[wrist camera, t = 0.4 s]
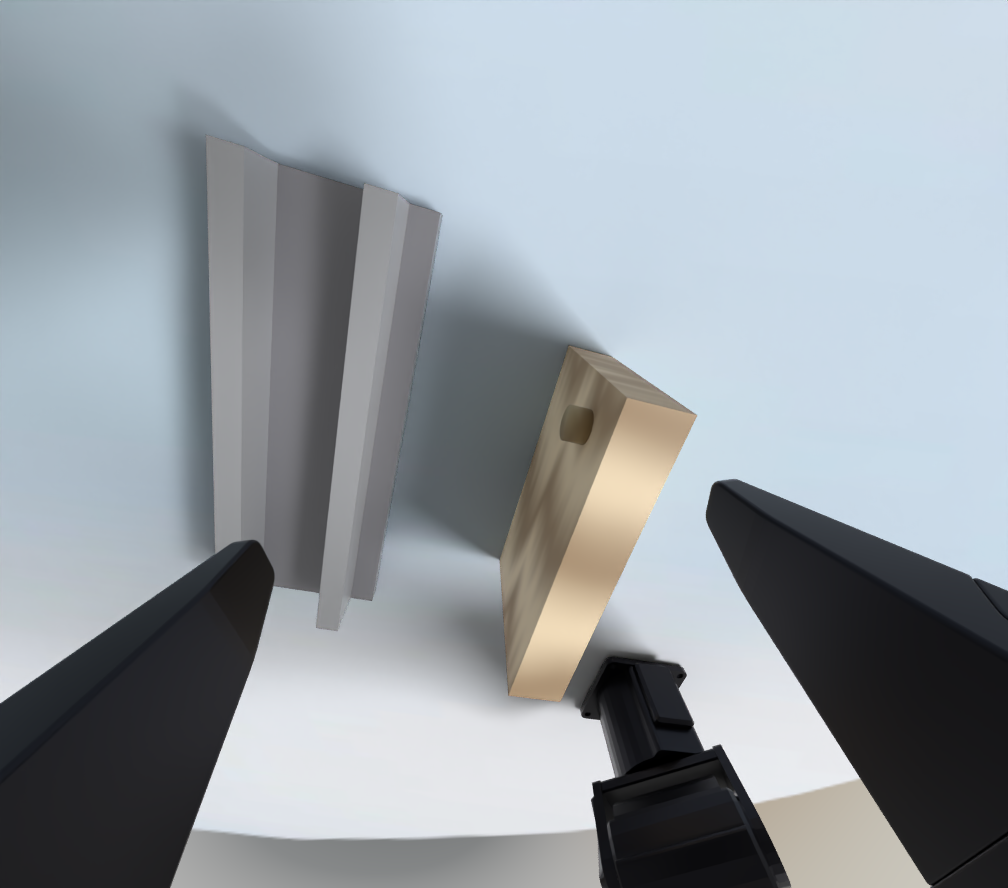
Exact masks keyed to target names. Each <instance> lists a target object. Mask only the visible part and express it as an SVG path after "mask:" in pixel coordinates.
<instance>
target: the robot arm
mask: <svg viewBox="0 0 1008 888" xmlns="http://www.w3.org/2000/svg"><path fill="white" fill-rule="evenodd" d="M706 521H707V524H708V526H709V528H710V530H711V532H712V534H713V536H714V538H715V540H716V542H717V544H718V546H719V548H720V550H721V552H722V554H723V556H724V558H725V560H726V562H727V564H728V566H729V568H730V570H731V572H732V574H733V576H734V578H735V580H736V582H737V584H738V586H739V588H740V589H741V591H742V593H743V595H744V596H745V598H746V599H747V601H748V603H749V604H750V606H751V608H752V609H753V611H754V612H755V614H756V615H757V617H758V618H759V620H760V622H761V623H762V625H763V626H764V628H765V629H766V631H767V633H768V634H769V636H770V637H771V639H772V640H773V642H774V644H775V645H776V647H777V648H778V650H779V651H780V653H781V655H782V656H783V658H784V659H785V661H786V662H787V664H788V666H789V667H790V669H791V670H792V672H793V673H794V675H795V677H796V678H797V680H798V681H799V683H800V684H801V686H802V688H803V689H804V691H805V692H806V694H807V695H808V697H809V699H810V700H811V702H812V703H813V705H814V706H815V708H816V710H817V711H818V713H819V714H820V716H821V717H822V719H823V720H824V722H825V724H826V725H827V727H828V728H829V730H830V731H831V733H832V735H833V736H834V738H835V739H836V741H837V742H838V744H839V746H840V747H841V749H842V750H843V752H844V753H845V755H846V757H847V758H848V760H849V761H850V763H851V764H852V766H853V768H854V769H855V771H856V772H857V774H858V775H859V777H860V779H861V780H862V782H863V783H864V785H865V786H866V788H867V789H868V791H869V793H870V794H871V796H872V797H873V799H874V801H875V802H876V803H877V805H878V806H879V808H880V810H881V812H882V813H883V815H884V816H885V818H886V819H887V821H888V822H889V824H890V826H891V827H892V829H893V830H894V832H895V833H896V835H897V836H898V838H899V840H900V841H901V843H902V844H903V846H904V847H905V849H906V851H907V852H908V854H909V855H910V857H911V858H912V860H913V862H914V863H915V865H916V866H917V868H918V870H919V871H920V873H921V874H922V876H923V877H924V879H925V880H926V882H927V883H928V884H929V885H931V887H930V888H1008V591H1007V590H1004V589H1002V588H1000V587H997V586H995V585H992V584H990V583H988V582H985V581H983V580H980V579H977V578H974V579H972V577H971V576H970V575H968V574H965V573H963V572H961V571H958V570H956V569H953V568H951V567H948V566H946V565H944V564H941V563H939V562H936V561H934V560H931V559H929V558H927V557H924V556H922V555H919V554H917V553H914V552H912V551H910V550H907V549H905V548H902V547H900V546H897V545H895V544H893V543H890V542H888V541H885V540H883V539H880V538H878V537H876V536H873V535H871V534H868V533H866V532H863V531H861V530H859V529H856V528H854V527H851V526H849V525H846V524H844V523H842V522H839V521H837V520H834V519H832V518H829V517H827V516H825V515H822V514H820V513H817V512H815V511H812V510H810V509H808V508H805V507H803V506H800V505H798V504H796V503H793V502H791V501H788V500H786V499H783V498H781V497H779V496H776V495H774V494H771V493H769V492H766V491H764V490H762V489H759V488H757V487H754V486H752V485H749V484H747V483H745V482H742V481H740V480H737V479H729V480H721V481H717V482H715V483H714V484H713V485H712V487H711V491H710V496H709V501H708V505H707V510H706ZM274 581H275V573H274V569H273V567H272V565H271V563H270V561H269V559H268V557H267V555H266V553H265V551H264V549H263V547H262V545H261V544H260V543H259V542H258V541H257V540H244V541H237V542H233V543H231V544H229V545H228V546H226V547H225V548H223V549H222V550H220V551H219V552H218V553H216V554H215V555H213V556H212V557H210V558H209V559H207V560H206V561H205V562H203V563H202V564H200V565H199V566H197V567H196V568H194V569H193V570H192V571H190V572H189V573H187V574H186V575H184V576H183V577H182V578H180V579H179V580H177V581H176V582H174V583H173V584H171V585H170V586H169V587H167V588H166V589H164V590H163V591H161V592H160V593H159V594H157V595H156V596H154V597H153V598H151V599H150V600H148V601H147V602H146V603H144V604H143V605H141V606H140V607H138V608H137V609H135V610H134V611H133V612H131V613H130V614H128V615H127V616H125V617H124V618H123V619H121V620H120V621H118V622H117V623H115V624H114V625H112V626H111V627H110V628H108V629H107V630H105V631H104V632H102V633H101V634H100V635H98V636H97V637H95V638H94V639H92V640H91V641H89V642H88V643H87V644H85V645H84V646H82V647H81V648H79V649H78V650H76V651H75V652H74V653H72V654H71V655H69V656H68V657H66V658H65V659H64V660H62V661H61V662H59V663H58V664H56V665H55V666H53V667H52V668H51V669H49V670H48V671H46V672H45V673H43V674H42V675H40V676H39V677H38V678H36V679H35V680H33V681H32V682H30V683H29V684H28V685H26V686H25V687H23V688H22V689H20V690H19V691H17V692H16V693H15V694H13V695H12V696H10V697H9V698H7V699H6V700H5V701H3V702H2V703H0V888H170V887H171V884H172V881H173V878H174V876H175V873H176V870H177V868H178V865H179V862H180V860H181V857H182V854H183V852H184V849H185V846H186V843H187V841H188V838H189V835H190V833H191V830H192V827H193V824H194V822H195V819H196V816H197V814H198V811H199V808H200V805H201V803H202V800H203V797H204V795H205V792H206V789H207V786H208V784H209V781H210V778H211V776H212V773H213V770H214V767H215V765H216V762H217V759H218V757H219V754H220V751H221V748H222V746H223V743H224V740H225V738H226V735H227V732H228V730H229V727H230V724H231V721H232V719H233V716H234V713H235V711H236V708H237V705H238V702H239V700H240V697H241V694H242V692H243V689H244V686H245V683H246V681H247V678H248V675H249V673H250V670H251V667H252V664H253V661H254V658H255V654H256V651H257V648H258V644H259V640H260V636H261V632H262V628H263V624H264V620H265V617H266V613H267V609H268V605H269V601H270V597H271V593H272V589H273V585H274ZM686 676H687V675H686V672H685V670H684V668H682V667H678V666H671V665H664V664H657V663H650V662H643V661H636V660H629V659H622V658H615V657H610V658H608V659H606V660H605V662H604V664H603V666H602V668H601V670H600V672H599V673H598V675H597V677H596V679H595V681H594V683H593V685H592V687H591V689H590V691H589V693H588V695H587V697H586V699H585V701H584V703H583V705H582V707H581V709H580V711H581V715H582V717H583V718H588V719H596V720H600V721H601V725H602V728H603V732H604V736H605V740H606V744H607V747H608V751H609V755H610V759H611V763H612V766H613V770H614V774H615V778H612V779H609V780H606V781H602V782H601V781H600V780H599V781H596V782H593V783H592V786H593V793H594V797H593V798H592V799H591V802H592V807H593V812H594V817H595V822H596V829H597V836H598V855H599V878H600V883H601V886H602V888H790V887H791V884H790V881H789V879H788V876H787V874H786V872H785V869H784V867H783V865H782V862H781V860H780V858H779V856H778V854H777V851H776V849H775V847H774V845H773V843H772V841H771V839H770V837H769V835H768V833H767V831H766V829H765V827H764V825H763V823H762V821H761V819H760V817H759V815H758V813H757V811H756V809H755V807H754V805H753V803H752V802H751V800H750V798H749V796H748V794H747V792H746V791H745V789H744V787H743V785H742V783H741V781H740V779H739V778H738V776H737V774H736V772H735V770H734V768H733V766H732V765H731V763H730V761H729V759H728V757H727V755H726V753H725V752H724V750H723V748H722V746H721V744H720V745H716V746H713V749H709V750H706V751H704V749H703V746H702V744H701V742H700V740H699V738H698V736H697V733H696V731H695V729H694V727H693V725H694V721H693V719H692V717H691V715H690V713H689V710H688V708H687V706H686V704H685V702H684V700H683V698H682V695H681V693H680V691H679V687H680V686H681V684H682V682H683V681H684V679H685V678H686Z"/></svg>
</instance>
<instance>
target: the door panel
mask: <svg viewBox="0 0 1008 888" xmlns="http://www.w3.org/2000/svg"><path fill="white" fill-rule="evenodd" d="M696 417H697V415H696V414H694V413H693V412H692V411H690V410H689V409H687V408H686V407H684V406H683V405H681V404H680V403H679V402H677V401H676V400H674V399H673V398H671V397H670V396H668V395H667V394H665V393H664V392H663V391H661V390H660V389H658V388H657V387H655V386H654V385H652V384H651V383H649V382H648V381H647V380H645V379H644V378H642V377H641V376H639V375H638V374H636V373H635V372H633V371H632V370H631V369H629V368H628V367H626V366H625V365H623V364H622V363H620V362H619V361H618V360H616V359H615V358H613V357H611V356H607V355H603V354H599V353H596V352H592V351H588V350H584V349H581V348H577V347H573V346H568V349H567V352H566V356H565V359H564V362H563V365H562V368H561V371H560V374H559V377H558V380H557V383H556V387H555V390H554V393H553V396H552V399H551V402H550V405H549V408H548V411H547V414H546V418H545V421H544V424H543V427H542V430H541V433H540V436H539V439H538V442H537V445H536V449H535V452H534V455H533V458H532V461H531V464H530V467H529V470H528V473H527V476H526V480H525V483H524V486H523V489H522V492H521V495H520V498H519V501H518V504H517V507H516V511H515V514H514V517H513V520H512V523H511V526H510V529H509V532H508V535H507V539H506V542H505V545H504V548H503V551H502V554H501V557H500V573H501V588H502V604H503V619H504V635H505V650H506V665H507V681H508V696H516V697H524V698H532V699H540V700H548V701H556V702H560V701H561V699H562V697H563V695H564V693H565V691H566V689H567V687H568V684H569V682H570V680H571V678H572V676H573V674H574V672H575V670H576V668H577V666H578V664H579V661H580V659H581V657H582V655H583V653H584V651H585V649H586V647H587V645H588V643H589V641H590V638H591V636H592V634H593V632H594V630H595V628H596V626H597V624H598V622H599V620H600V618H601V615H602V613H603V611H604V609H605V607H606V605H607V603H608V601H609V599H610V597H611V595H612V592H613V590H614V588H615V586H616V584H617V582H618V580H619V578H620V576H621V574H622V572H623V569H624V567H625V565H626V563H627V561H628V559H629V557H630V555H631V553H632V551H633V549H634V546H635V544H636V542H637V540H638V538H639V536H640V534H641V532H642V530H643V528H644V526H645V523H646V521H647V519H648V517H649V515H650V513H651V511H652V509H653V507H654V505H655V503H656V500H657V498H658V496H659V494H660V492H661V490H662V488H663V486H664V484H665V482H666V480H667V477H668V475H669V473H670V471H671V469H672V467H673V465H674V463H675V461H676V459H677V457H678V454H679V452H680V450H681V448H682V446H683V444H684V442H685V440H686V438H687V436H688V434H689V431H690V429H691V427H692V425H693V423H694V421H695V419H696Z"/></svg>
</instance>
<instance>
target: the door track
mask: <svg viewBox="0 0 1008 888" xmlns="http://www.w3.org/2000/svg"><path fill="white" fill-rule="evenodd" d="M206 166H207V211H208V256H209V301H210V347H211V392H212V437H213V482H214V527H215V554H216V553H218V552H219V551H220V550H222V549H223V548H225V547H226V546H228V545H229V544H231V543H233V542H237V541H244V540H257V541H258V542H259V543H260V544H261V545H262V547H263V549H264V551H265V553H266V555H267V557H268V559H269V561H270V563H271V565H272V567H273V569H274V573H275V581H274V585H273V586H277V587H284V588H290V589H297V590H303V591H310V592H317V593H320V594H319V603H318V612H317V622H316V628H320V629H327V630H334V631H338V629H339V627H340V624H341V621H342V619H343V616H344V614H345V611H346V609H347V606H348V604H349V601H350V598H356V599H363V600H369V601H372V599H373V596H374V593H375V590H376V585H377V579H378V574H379V568H380V563H381V557H382V552H383V546H384V540H385V535H386V529H387V524H388V518H389V512H390V507H391V501H392V496H393V490H394V484H395V479H396V473H397V468H398V462H399V456H400V451H401V445H402V440H403V434H404V428H405V423H406V417H407V412H408V406H409V400H410V395H411V389H412V384H413V378H414V372H415V367H416V361H417V356H418V350H419V344H420V339H421V333H422V328H423V322H424V316H425V311H426V305H427V300H428V294H429V289H430V283H431V277H432V272H433V266H434V261H435V255H436V249H437V244H438V238H439V233H440V227H441V221H442V214H441V213H439V212H436V211H433V210H430V209H426V208H423V207H420V206H416V205H413V204H410V203H408V202H407V201H406V200H405V199H404V198H403V197H402V196H401V195H399V194H398V193H395V192H392V191H389V190H385V189H382V188H379V187H376V186H372V185H369V184H366V183H364V189H360V188H357V187H354V186H350V185H347V184H344V183H340V182H337V181H334V180H331V179H327V178H324V177H321V176H317V175H314V174H311V173H308V172H304V171H301V170H298V169H294V168H291V167H288V166H284V165H281V164H278V163H276V162H274V161H272V160H270V159H268V158H266V157H264V156H262V155H260V154H258V153H256V152H254V151H252V150H250V149H248V148H246V147H244V146H241V145H238V144H235V143H232V142H228V141H225V140H222V139H219V138H215V137H212V136H209V135H206Z"/></svg>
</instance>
